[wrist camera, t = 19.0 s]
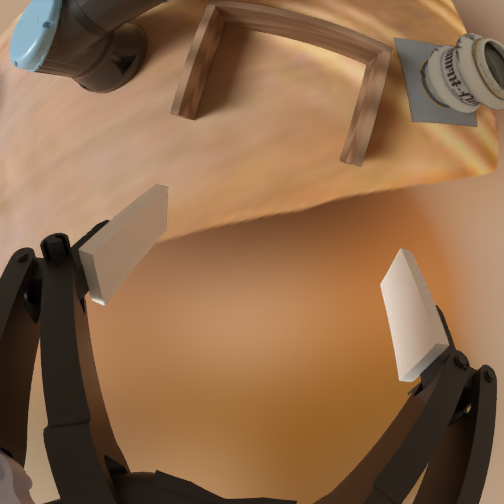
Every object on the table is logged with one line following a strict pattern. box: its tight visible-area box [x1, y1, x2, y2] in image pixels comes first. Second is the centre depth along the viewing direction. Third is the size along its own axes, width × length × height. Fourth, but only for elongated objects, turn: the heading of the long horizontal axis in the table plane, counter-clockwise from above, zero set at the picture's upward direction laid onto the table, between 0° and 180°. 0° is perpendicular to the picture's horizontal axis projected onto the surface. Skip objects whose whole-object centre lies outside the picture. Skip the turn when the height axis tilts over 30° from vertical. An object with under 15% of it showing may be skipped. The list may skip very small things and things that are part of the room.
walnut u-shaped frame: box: [170, 0, 392, 167], centre depth 33 cm, size 19×26×8 cm
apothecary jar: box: [420, 33, 504, 113], centre depth 24 cm, size 12×12×18 cm
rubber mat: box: [394, 38, 477, 127], centre depth 32 cm, size 16×16×1 cm
